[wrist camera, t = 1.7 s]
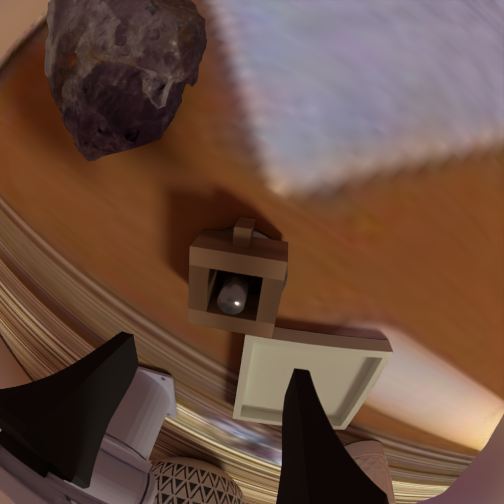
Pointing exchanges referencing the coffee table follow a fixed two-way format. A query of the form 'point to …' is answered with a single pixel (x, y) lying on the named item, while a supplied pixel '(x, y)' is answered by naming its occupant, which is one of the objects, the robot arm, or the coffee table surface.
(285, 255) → the brown square frame
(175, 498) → the planter
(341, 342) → the tray
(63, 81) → the rock
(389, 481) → the white cup
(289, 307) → the coffee table surface
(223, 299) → the grey knobbed lid
